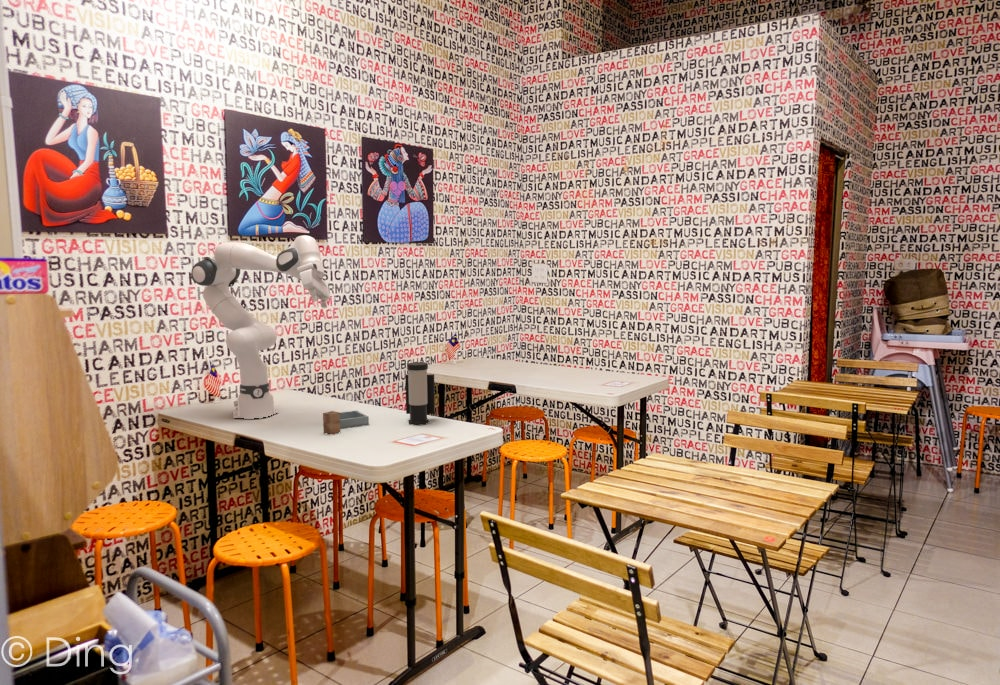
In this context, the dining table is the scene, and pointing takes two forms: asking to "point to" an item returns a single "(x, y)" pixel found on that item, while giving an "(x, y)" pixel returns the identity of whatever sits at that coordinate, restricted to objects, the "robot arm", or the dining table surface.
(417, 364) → the light fixture
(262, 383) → the robot arm
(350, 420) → the tray
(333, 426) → the walnut block
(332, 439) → the dining table surface
